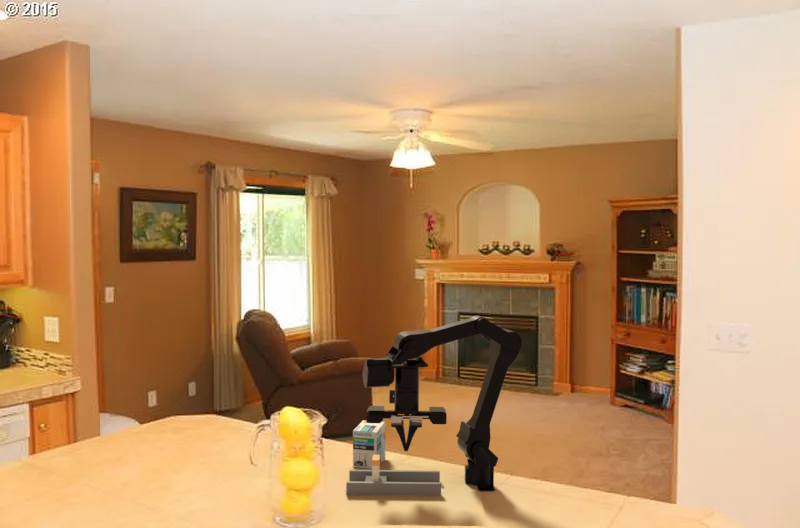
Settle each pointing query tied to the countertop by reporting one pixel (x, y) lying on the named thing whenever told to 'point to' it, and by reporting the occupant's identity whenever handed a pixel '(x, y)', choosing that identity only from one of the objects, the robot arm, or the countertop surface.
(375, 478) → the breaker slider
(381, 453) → the light bulb box
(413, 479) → the housing
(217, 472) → the countertop surface
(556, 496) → the countertop surface
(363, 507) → the countertop surface
